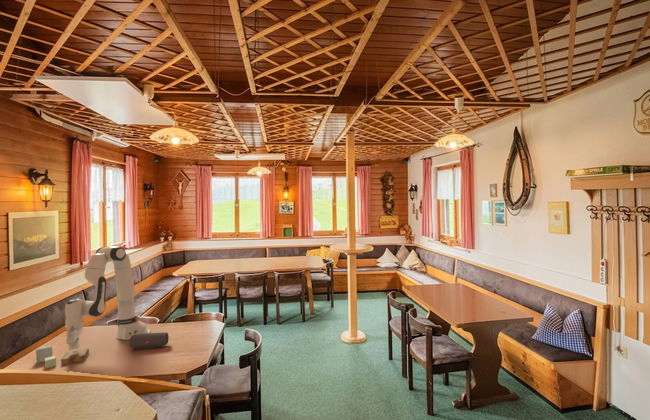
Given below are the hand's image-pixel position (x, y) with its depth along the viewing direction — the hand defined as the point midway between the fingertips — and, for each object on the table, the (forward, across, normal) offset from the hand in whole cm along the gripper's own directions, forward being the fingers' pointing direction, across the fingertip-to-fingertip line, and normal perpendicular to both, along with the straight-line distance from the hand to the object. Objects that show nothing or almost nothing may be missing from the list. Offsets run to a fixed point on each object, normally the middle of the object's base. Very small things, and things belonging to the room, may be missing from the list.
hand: (74, 345), depth 215 cm
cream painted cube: (+2, 0, 0) cm, 2 cm away
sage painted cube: (+9, -4, +12) cm, 15 cm away
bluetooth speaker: (+9, -4, -43) cm, 44 cm away
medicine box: (+9, +7, +18) cm, 21 cm away
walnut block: (+9, 0, 0) cm, 9 cm away
